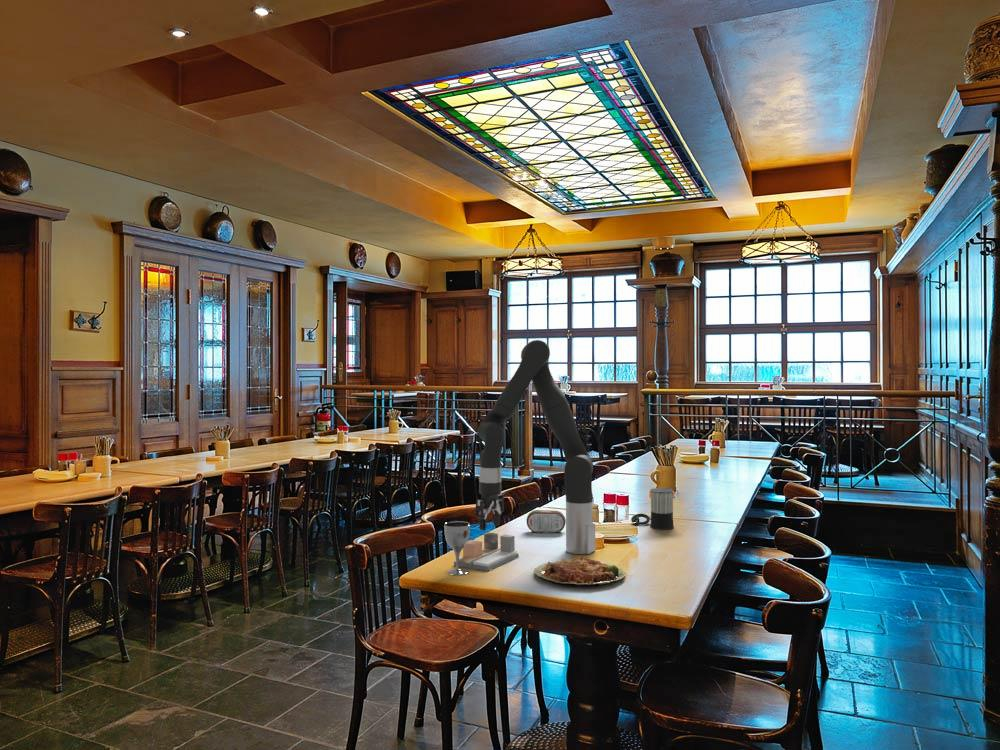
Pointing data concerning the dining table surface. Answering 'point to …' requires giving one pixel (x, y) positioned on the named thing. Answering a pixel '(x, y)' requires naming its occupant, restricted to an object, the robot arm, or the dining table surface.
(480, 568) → the lane board
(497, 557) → the grey strip
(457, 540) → the wine glass
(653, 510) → the milk frother
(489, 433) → the robot arm
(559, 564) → the rice dish
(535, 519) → the tin
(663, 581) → the dining table surface
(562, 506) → the dining table surface
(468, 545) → the terracotta block
